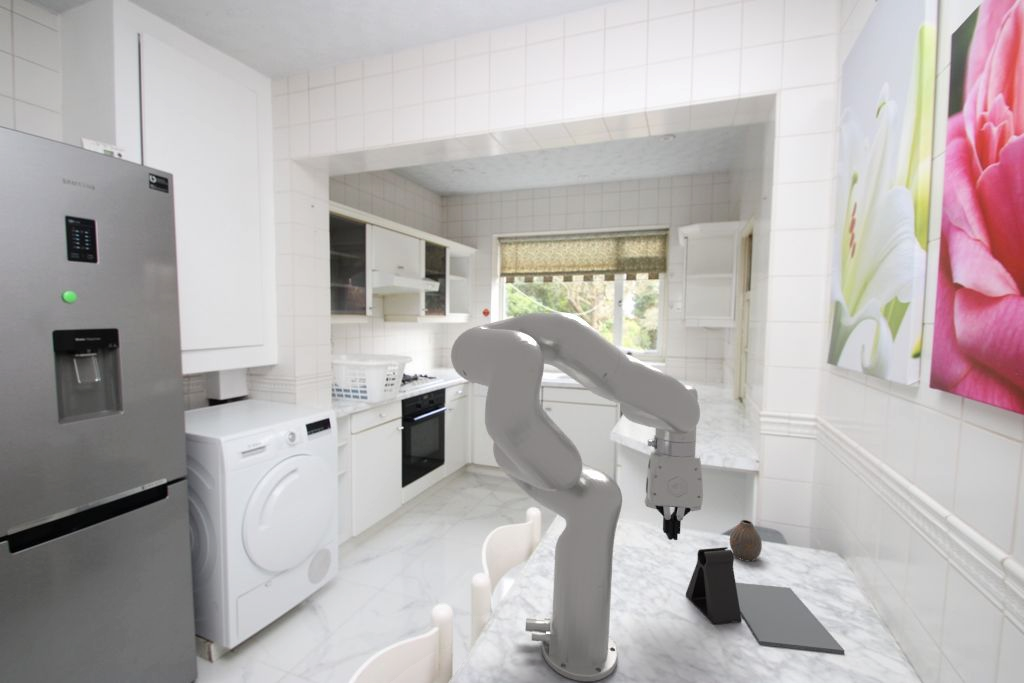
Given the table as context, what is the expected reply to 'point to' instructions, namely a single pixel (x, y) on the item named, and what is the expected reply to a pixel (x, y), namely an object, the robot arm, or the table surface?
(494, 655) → the table surface
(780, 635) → the mat
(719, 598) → the phone stand
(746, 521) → the vase
